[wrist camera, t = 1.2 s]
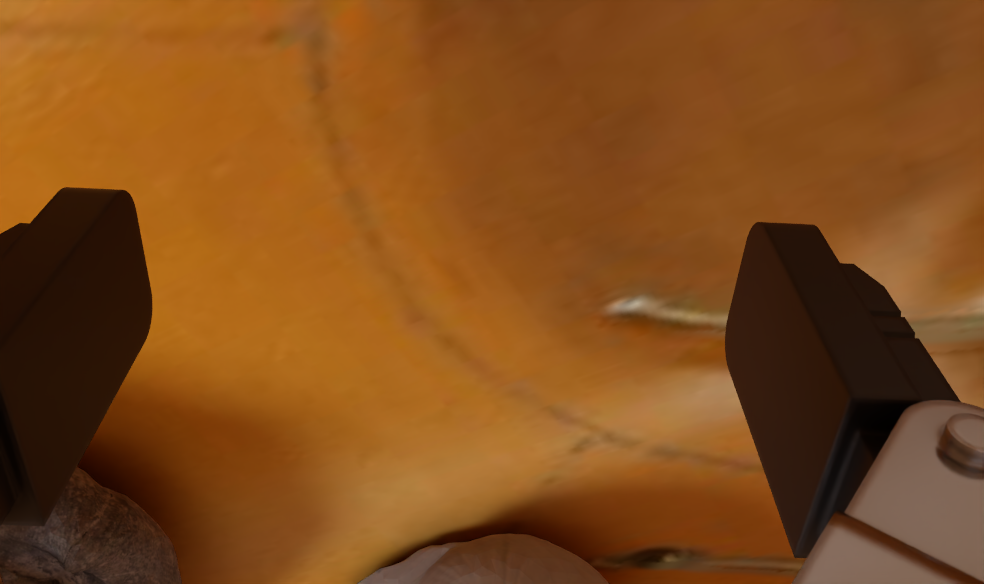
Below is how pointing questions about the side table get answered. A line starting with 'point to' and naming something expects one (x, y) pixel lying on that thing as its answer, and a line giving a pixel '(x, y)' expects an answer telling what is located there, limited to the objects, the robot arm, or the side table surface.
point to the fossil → (89, 542)
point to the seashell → (490, 564)
